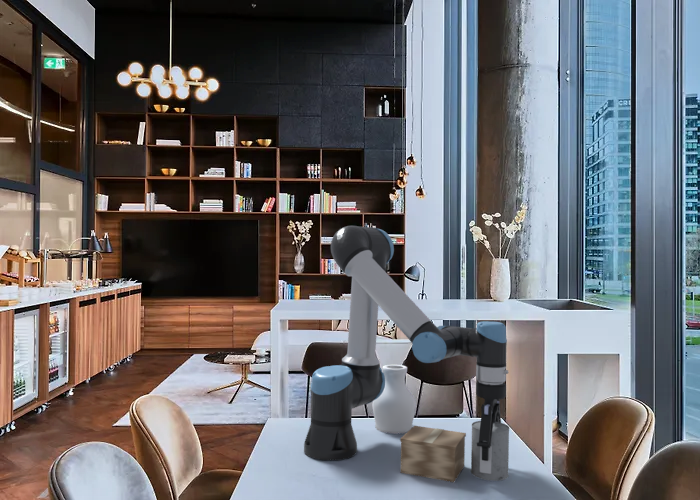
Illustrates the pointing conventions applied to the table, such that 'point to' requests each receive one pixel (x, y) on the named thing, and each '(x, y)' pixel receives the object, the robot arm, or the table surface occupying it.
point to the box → (432, 461)
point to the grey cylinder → (498, 452)
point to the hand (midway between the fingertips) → (490, 463)
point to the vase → (394, 402)
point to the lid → (433, 437)
